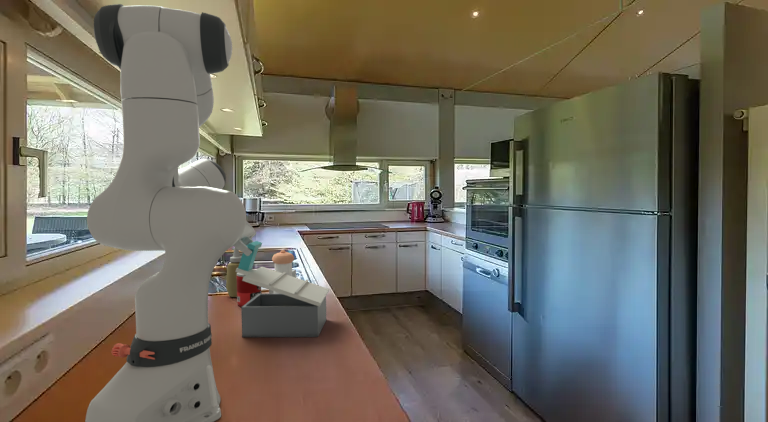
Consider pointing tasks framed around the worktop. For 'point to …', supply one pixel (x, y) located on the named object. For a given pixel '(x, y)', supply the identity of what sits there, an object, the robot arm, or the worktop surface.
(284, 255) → the pepper shaker
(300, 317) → the tub
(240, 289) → the canned food
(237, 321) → the worktop surface
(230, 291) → the squeeze bottle
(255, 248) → the lid
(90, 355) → the worktop surface
